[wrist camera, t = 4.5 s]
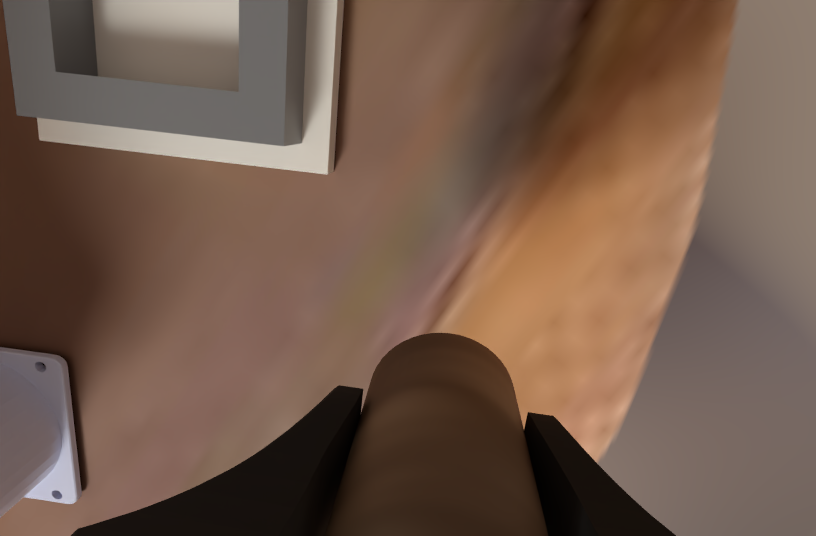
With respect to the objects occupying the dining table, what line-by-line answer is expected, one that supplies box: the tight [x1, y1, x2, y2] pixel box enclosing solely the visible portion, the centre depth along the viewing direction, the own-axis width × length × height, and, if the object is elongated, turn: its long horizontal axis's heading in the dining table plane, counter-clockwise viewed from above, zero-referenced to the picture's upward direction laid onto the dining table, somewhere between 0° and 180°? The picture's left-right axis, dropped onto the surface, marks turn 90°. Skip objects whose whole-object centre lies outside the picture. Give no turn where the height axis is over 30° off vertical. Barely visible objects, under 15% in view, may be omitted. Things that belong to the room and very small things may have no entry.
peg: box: [324, 333, 548, 536], centre depth 11 cm, size 4×4×6 cm
